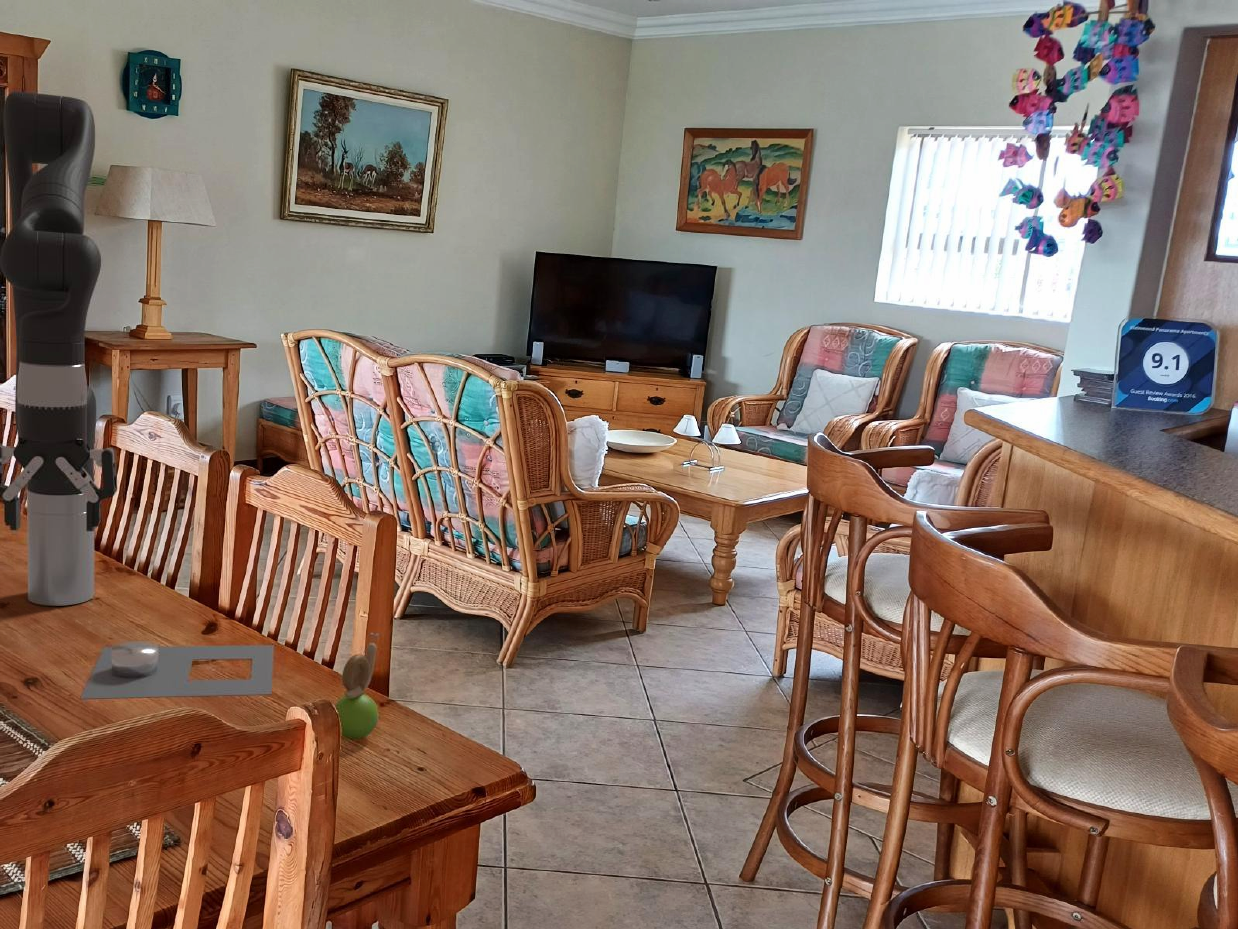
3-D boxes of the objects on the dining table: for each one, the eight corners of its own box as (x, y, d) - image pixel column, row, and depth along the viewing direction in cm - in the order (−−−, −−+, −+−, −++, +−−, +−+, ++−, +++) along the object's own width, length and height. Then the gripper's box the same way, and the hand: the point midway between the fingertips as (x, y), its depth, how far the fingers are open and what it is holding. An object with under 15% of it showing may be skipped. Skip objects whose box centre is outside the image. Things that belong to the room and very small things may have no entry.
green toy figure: (390, 731, 139) (395, 636, 137) (361, 750, 133) (366, 652, 131) (351, 722, 141) (355, 628, 139) (321, 741, 135) (325, 643, 133)
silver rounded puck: (114, 663, 149) (115, 641, 149) (160, 662, 151) (160, 641, 150) (108, 679, 144) (108, 656, 144) (155, 678, 146) (155, 655, 145)
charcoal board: (80, 710, 138) (80, 698, 138) (103, 657, 155) (103, 647, 155) (271, 705, 144) (271, 694, 144) (273, 655, 161) (274, 645, 161)
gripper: (121, 398, 144) (120, 523, 147) (-5, 392, 140) (-3, 521, 143) (111, 407, 137) (110, 538, 140) (-22, 401, 133) (-20, 536, 136)
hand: (53, 529), depth 141 cm, fingers open, 8 cm apart
